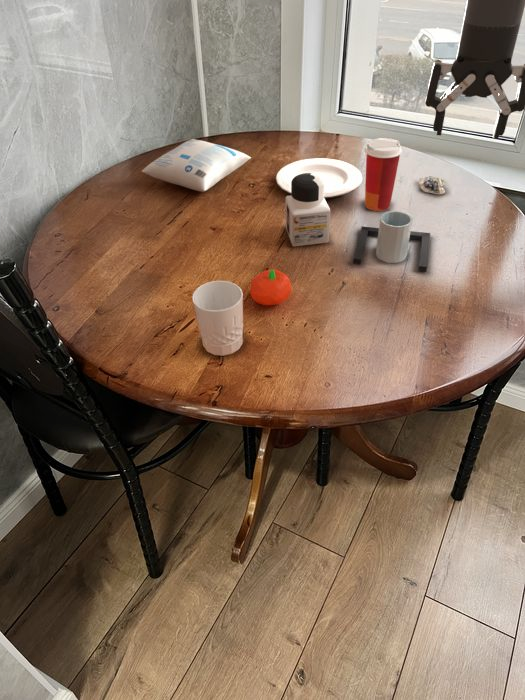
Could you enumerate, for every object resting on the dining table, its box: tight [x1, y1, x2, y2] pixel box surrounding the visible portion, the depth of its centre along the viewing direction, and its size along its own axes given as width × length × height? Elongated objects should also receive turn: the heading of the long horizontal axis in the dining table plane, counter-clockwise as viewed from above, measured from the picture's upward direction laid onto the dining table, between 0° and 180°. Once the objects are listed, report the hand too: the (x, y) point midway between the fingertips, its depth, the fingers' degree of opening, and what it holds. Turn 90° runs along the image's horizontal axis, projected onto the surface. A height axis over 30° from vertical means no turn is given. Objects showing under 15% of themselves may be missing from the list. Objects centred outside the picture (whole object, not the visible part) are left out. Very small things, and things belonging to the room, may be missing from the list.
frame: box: [352, 225, 431, 273], centre depth 109 cm, size 14×12×1 cm
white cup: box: [191, 280, 244, 357], centre depth 88 cm, size 8×8×10 cm
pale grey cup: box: [375, 210, 414, 264], centre depth 105 cm, size 6×6×8 cm
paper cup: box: [364, 137, 403, 212], centre depth 118 cm, size 8×8×14 cm
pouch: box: [141, 138, 252, 193], centre depth 133 cm, size 8×19×20 cm
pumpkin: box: [249, 268, 292, 306], centre depth 97 cm, size 7×8×6 cm
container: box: [285, 173, 331, 248], centre depth 110 cm, size 8×8×13 cm
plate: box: [275, 157, 363, 199], centre depth 131 cm, size 21×21×2 cm
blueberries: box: [418, 175, 446, 196], centre depth 127 cm, size 7×8×2 cm
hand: (466, 135), depth 85 cm, fingers open, 8 cm apart
